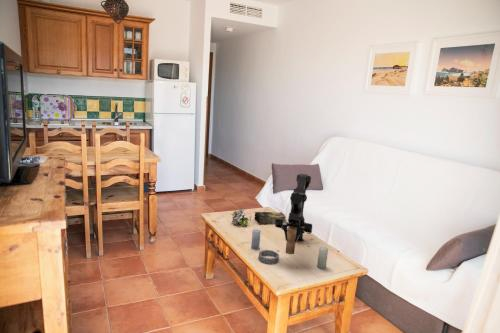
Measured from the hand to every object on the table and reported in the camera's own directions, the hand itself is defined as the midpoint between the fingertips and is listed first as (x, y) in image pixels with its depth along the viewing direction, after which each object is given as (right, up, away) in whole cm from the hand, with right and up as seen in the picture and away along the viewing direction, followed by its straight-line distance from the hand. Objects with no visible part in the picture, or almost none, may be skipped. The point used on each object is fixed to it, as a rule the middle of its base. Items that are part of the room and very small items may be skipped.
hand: (290, 241), depth 172 cm
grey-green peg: (+16, -14, +4) cm, 22 cm away
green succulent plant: (-26, 0, +54) cm, 60 cm away
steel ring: (-11, -11, +9) cm, 18 cm away
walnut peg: (0, -6, +3) cm, 7 cm away
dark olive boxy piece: (-7, -1, +61) cm, 62 cm away
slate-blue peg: (-17, -8, +21) cm, 28 cm away
